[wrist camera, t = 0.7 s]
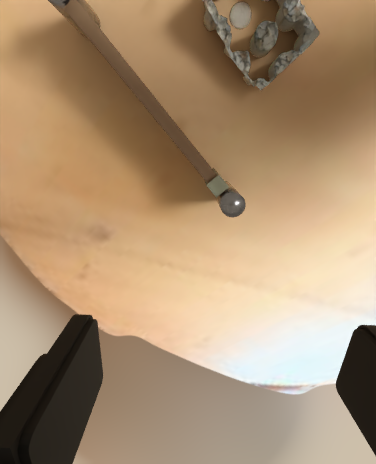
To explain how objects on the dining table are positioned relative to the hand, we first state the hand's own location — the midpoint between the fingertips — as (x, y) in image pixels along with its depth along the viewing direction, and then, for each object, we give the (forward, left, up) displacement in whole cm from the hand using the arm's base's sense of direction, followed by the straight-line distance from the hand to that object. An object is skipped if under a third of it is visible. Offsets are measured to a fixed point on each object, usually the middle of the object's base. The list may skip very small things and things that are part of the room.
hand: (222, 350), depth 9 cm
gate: (-3, -11, -24) cm, 26 cm away
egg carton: (-16, -11, -25) cm, 31 cm away
